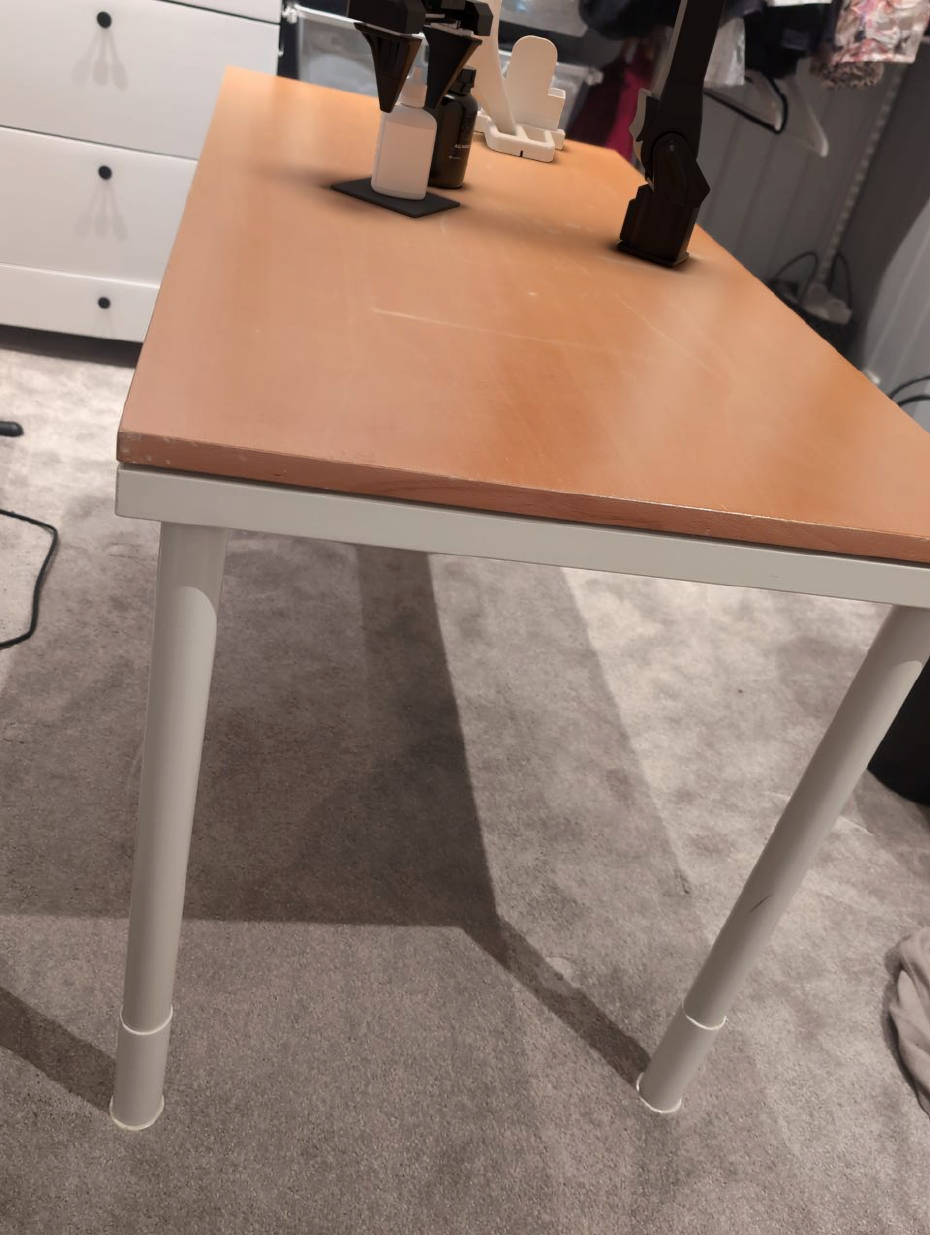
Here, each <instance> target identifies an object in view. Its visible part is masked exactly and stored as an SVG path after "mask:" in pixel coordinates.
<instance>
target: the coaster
mask: <svg viewBox="0 0 930 1235" xmlns="http://www.w3.org/2000/svg"><path fill="white" fill-rule="evenodd" d="M371 180H372V176H371V177H366V178H361V179H355V180H351V181H344V182H340V183H333V184H330V186H329V187H330V188H329V189H331V190H335V191H338V192H340V193H343V194H346V195H349V196H352V197H353V198H357V199H360V200H362V201H365V202H368V203H371V204H374V205H377V206H380V207H383V208H385V209H388V210H391V211H394V212H396V213H399V214H403V215H405V216H408V217H411V218H414V219H415V218H419V217H422V216H427V215H430V214H434V213H438V212H441V211H445V210H449V209H452V208H456V207H459V206H461V203H460V202H458V201H455V200H453V199H449V198H446V197H444V196H441V195H438V194H435V193H432V192H429V191H427V190H426V194H425V197H424V198H423V199H421V200H411V199H402V198H396V197H391V196H387V195H383V194H379V193H377V192H375V191H374V190H373V188H372V186H371Z"/></svg>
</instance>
